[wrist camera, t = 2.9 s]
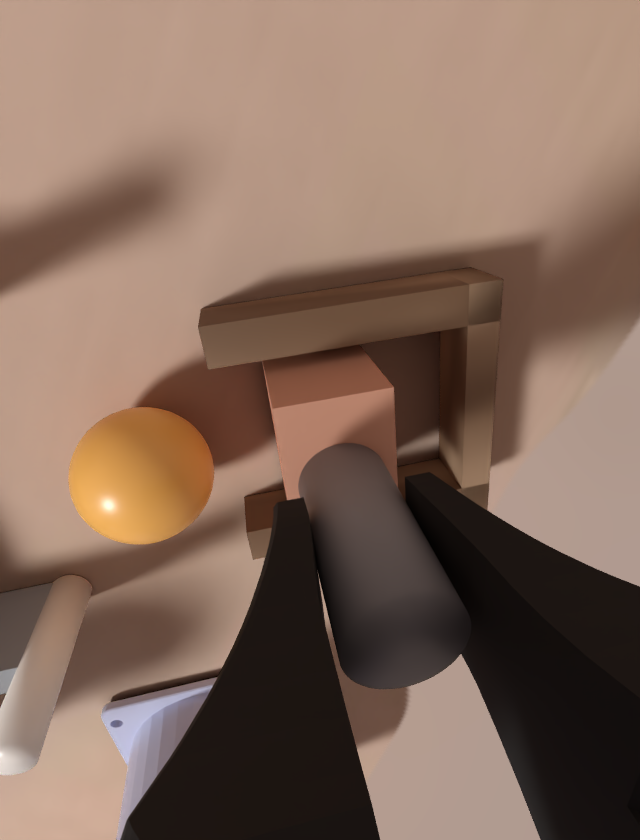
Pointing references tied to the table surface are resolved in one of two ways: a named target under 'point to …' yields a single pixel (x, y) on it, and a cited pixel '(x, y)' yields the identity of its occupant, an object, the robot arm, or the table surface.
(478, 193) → the table surface
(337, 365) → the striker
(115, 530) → the ball
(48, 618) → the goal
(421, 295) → the rail frame
